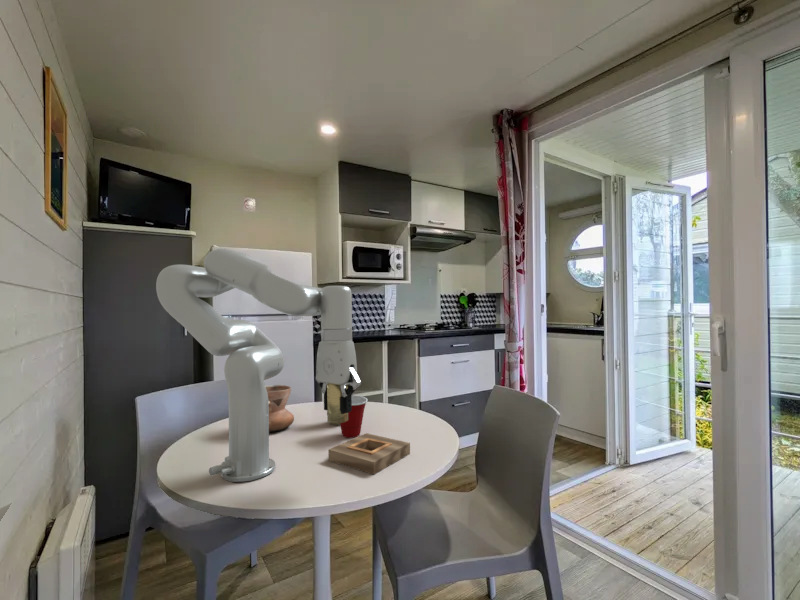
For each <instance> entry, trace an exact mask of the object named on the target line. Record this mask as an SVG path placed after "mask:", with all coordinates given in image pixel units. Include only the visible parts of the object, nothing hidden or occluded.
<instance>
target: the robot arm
mask: <svg viewBox="0 0 800 600" xmlns="http://www.w3.org/2000/svg"><path fill="white" fill-rule="evenodd" d="M203 264H204V265H203V267H202V266H197V265H191V264H180V263H179V264H172V265H168V266H166V267H164V268H163V269H162V270H161V271H159V273H158V274H157V275H158V276H157V278H156V284H155V286H156V287H155V289H156V295H157V299H158V301H159V303H160V304H161V306H162V309H164V310H165V312H167V313H168V314H169V316H171V317H172V318H173V319H175V320H176V322H177V323H179V324H180V325H181V326H182V327H184V329H185V330H187V332H188V333H189V334H190V336H192V337H193V338H194V339H195V340H196V341H197V342H198V343H199V344H200V345H201V346H202V347H203V348H204V349H205V350H206V351H207V352H208V353H210V354H211V355H212V356H215V357H216V356H217V357H225V356H228V357H227V358H226V359H225V363H224V368H223V370H224V379H225V383H226V388H227V398H228V456H225V457H224V461H222V462H221V464H219V465H214V466H211V467H209V468H208V473H209V476H210V477H213V476H216V475H220V476H221V477H222V479H224V480H226V481H228V482H233V483H241V482H242V483H243V482H249V481H250V482H251V481H255V480H258V479H261V478H264V477H266V476H268V475H270V474H271V473H273V472H274V471H275V469H276V461H275V460H274V459H272V458H270V432H269V402H268V393H267V390H266V387H265V386H266V385H265V381H266V380H269V379H271V378H274V377H276V376H278V375H279V374H280V373H281V371H282V370H283V368H284V367H285V366H284V365H285V356H284V354H283V352H282V350H281V349H280V348H279V347H278V345H277V344H276V343H275V342H274V341H273V340H271V338H269V336H267V335H266V334H265V333H264V332H263V331H262V330H261V329H259V328H258V326H256V325H255V324H253V322H250V321H248V320H245V319H229V318H226V317H224V316H222V314H220V313H219V312H218V311H217V310H216V309H215V308H214V306H212V305H210V304H209V303H208V302H206V301H205V300H203V299H202V298H213V297H217V296H219V295H222V294H224V293H226V292H229V291H231V290H233V289H236V290H237V289H238V290H239V291H241V292H244V293H246V294H248V295H251V296H252V297H253V298H254V299H255V300H257V301H258V302H260V303H261V304H263V305H265V306H267V307H269V308H271V309H273V310H276V311H278V312H281V314H282V313H283V314H285V315H288V316H291V317H316V316H320V325H321V326H320V328H321V329H320V337H321V340H320V341H319V342H318V348H317V354H316V366H315V368H316V370H315V373H316V374H315V381H316V382H317V384H319V387H320V389H321V393H322V394H323V410H324V411H327V383H330V384H335V385H340V387H341V392H342V397H341V398H340V410H341V414H345V413H348V412H351V411H352V397H351V395H355V391H356V390H357V388H359V387H360V386H361V385H362V381H361V379H360V377H359V375H358V365H357V363H358V362H357V355H356V354H357V352H356V349H355V348H356V347H355V343H354V341H353V307H352V306H353V305H352V304H353V301H352V298H353V295H352V290H351V288H350V287H349V286H346V285H326V286H324V287H316V286H309V285H303V284H298V283H295V282H293V281H290V280H287V279H285V278H283V277H280V276H278V275H276V274H275V273H272V270H271V268H270V267H269V266H268V265H266V264H263V263H261V262H260V261H256V260H255V259H253V258H252V257H251V256H250V255H248V254H246V253H243V252H240V251H235V250H232V249H226V248H215V249H214V250H212V251H210V252H208V253H207V254H206V256H205V258H204V261H203ZM345 382H346V383H345ZM345 385H347V387H348V388H347V389H346V386H345Z"/></svg>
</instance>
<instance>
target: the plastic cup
mask: <svg viewBox="0 0 800 600" xmlns="http://www.w3.org/2000/svg"><path fill="white" fill-rule="evenodd" d="M351 397H352V411H351V412H348V421H346V422H343V423H340V425H339V426H340V429H341V430H340V431H341V435H342V437H343V438H347V439H351V438H352V439H354V438H356V437H359V436H361V435H360V434H361V432H362V425H363V420H364V419H363V418H364V413H365V408H366V405H367V403H368V400H369V399H368V398H367V397H365V396H361V395H357V394H356V395H355V394H353V395H351Z"/></svg>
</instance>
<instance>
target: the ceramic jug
mask: <svg viewBox="0 0 800 600" xmlns="http://www.w3.org/2000/svg"><path fill="white" fill-rule="evenodd" d="M265 387H266V390H267V393H268V402H269V433H271V432H277V431H281V430H285V429H287V428H289V427H290V426H291V425H292V424H293V423H294V421H295V416H294V414H293V413H292V412H291V411H289V410H288V409H287V408H286V406H287V404H288V401H289V398H290V395H291V391H292V387H291V386H289V385H285V384H284V385H283V384H274V385H270V384H269V385H265Z"/></svg>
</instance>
